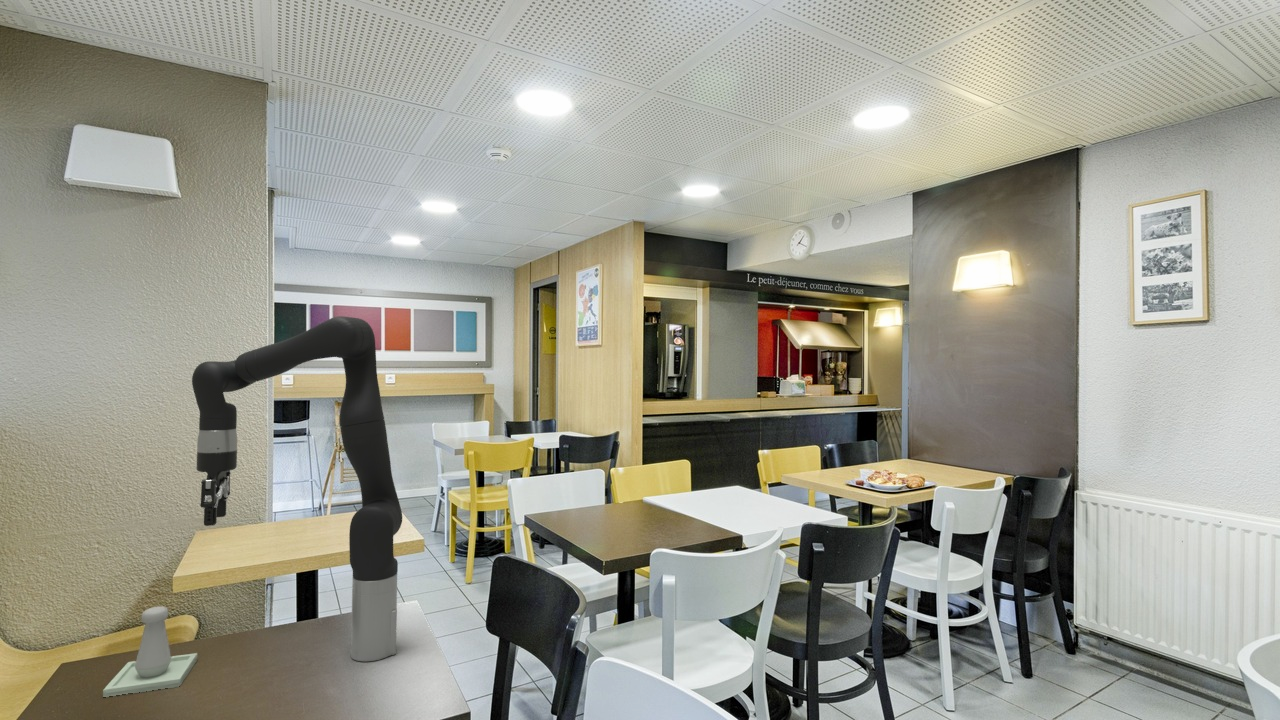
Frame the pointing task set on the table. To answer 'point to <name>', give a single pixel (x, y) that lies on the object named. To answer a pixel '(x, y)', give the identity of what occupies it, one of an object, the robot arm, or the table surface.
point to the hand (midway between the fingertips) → (215, 520)
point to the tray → (134, 683)
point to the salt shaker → (153, 644)
